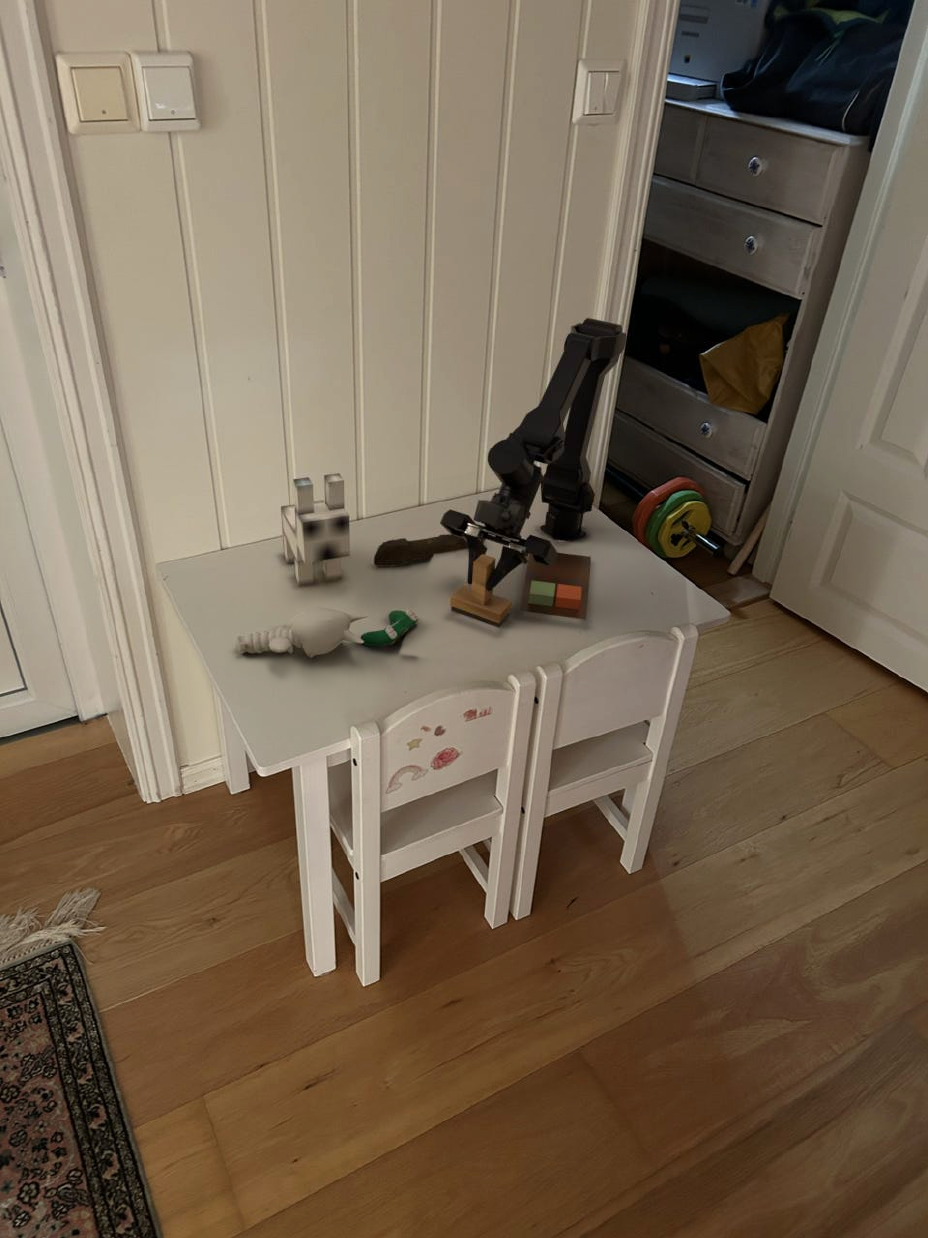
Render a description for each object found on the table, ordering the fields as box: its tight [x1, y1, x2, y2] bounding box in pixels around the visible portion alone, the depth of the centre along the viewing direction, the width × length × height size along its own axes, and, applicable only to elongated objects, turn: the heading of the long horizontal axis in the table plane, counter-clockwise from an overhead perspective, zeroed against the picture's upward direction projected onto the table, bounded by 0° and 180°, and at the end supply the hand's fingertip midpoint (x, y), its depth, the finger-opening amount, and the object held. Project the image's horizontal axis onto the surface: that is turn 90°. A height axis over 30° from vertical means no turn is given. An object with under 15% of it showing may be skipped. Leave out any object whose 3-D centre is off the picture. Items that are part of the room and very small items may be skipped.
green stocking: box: [360, 608, 419, 647], centre depth 145 cm, size 9×4×6 cm
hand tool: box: [373, 533, 468, 567], centre depth 165 cm, size 19×4×5 cm, turn 111°
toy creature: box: [236, 607, 370, 659], centre depth 140 cm, size 13×7×20 cm
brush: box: [449, 554, 513, 628], centre depth 148 cm, size 4×9×12 cm, turn 61°
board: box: [518, 552, 592, 621], centre depth 160 cm, size 20×11×2 cm, turn 171°
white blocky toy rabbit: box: [280, 472, 351, 587], centre depth 155 cm, size 8×18×20 cm, turn 23°
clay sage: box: [529, 581, 555, 606], centre depth 155 cm, size 4×4×2 cm
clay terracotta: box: [555, 584, 582, 610], centre depth 154 cm, size 4×4×2 cm
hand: (478, 587), depth 147 cm, fingers open, 3 cm apart
